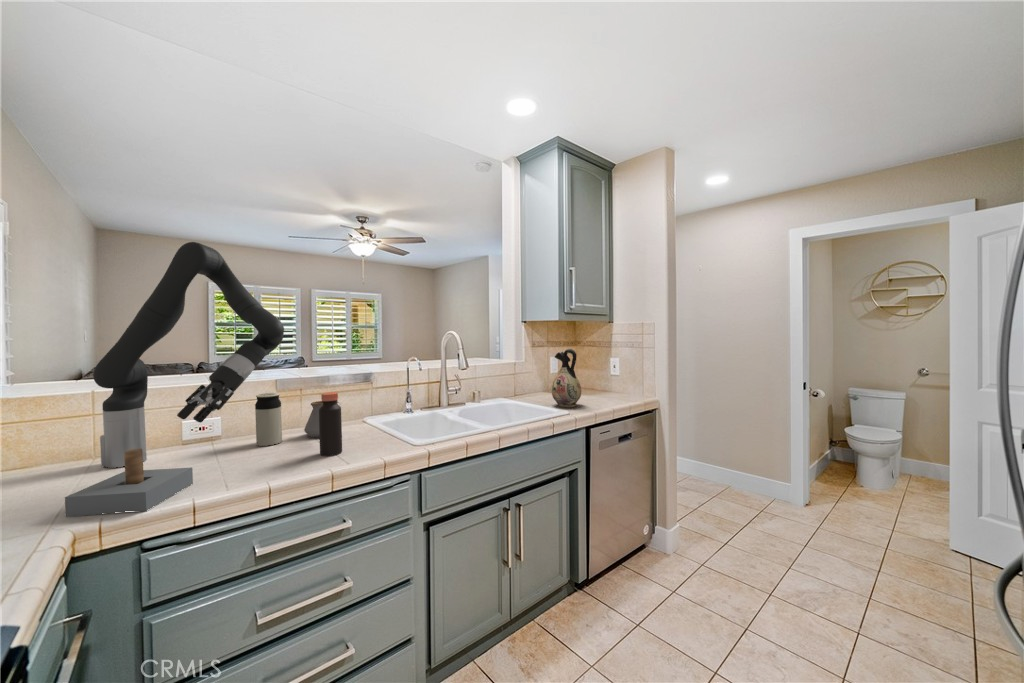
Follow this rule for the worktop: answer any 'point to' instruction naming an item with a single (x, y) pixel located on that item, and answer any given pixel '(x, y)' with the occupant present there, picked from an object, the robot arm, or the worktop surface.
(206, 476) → the worktop surface
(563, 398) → the ceramic jug
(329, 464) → the worktop surface
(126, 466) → the peg
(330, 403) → the bottle
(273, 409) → the travel mug
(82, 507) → the hole block
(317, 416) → the coffee pot
